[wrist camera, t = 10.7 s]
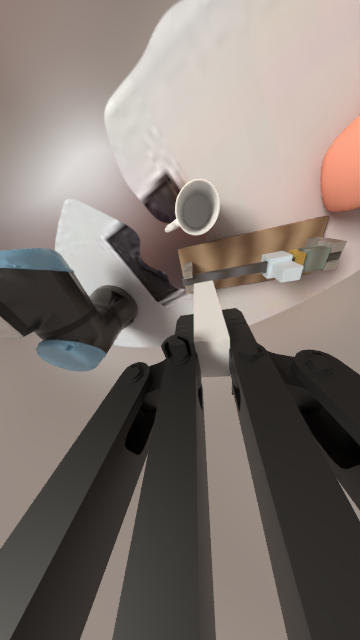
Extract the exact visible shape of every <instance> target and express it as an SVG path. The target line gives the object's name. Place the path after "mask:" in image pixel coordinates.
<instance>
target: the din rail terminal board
mask: <svg viewBox="0 0 360 640" xmlns="http://www.w3.org/2000/svg"><path fill="white" fill-rule="evenodd" d="M328 218H329V216H323V217H318V218H314V219H309V220H305V221H301V222H296V223H292V224H287V225H283V226H278V227H274V228H269V229H265V230H261V231H256V232H252V233H247V234H243V235H238V236H234V237H230V238H225V239H221V240H216V241H212V242H207V243H203V244H199V245H194V246H190V247H185V248H181V249H178V253H179V258H180V263H181V268H182V273H183V277H182V280H183V285H184V286H185V288H186V293H193V292H194V284H195V283H201V282H207V281H212V280H213V283H214V287H215V289H218V288H224V287H230V286H236V285H242V284H249V283H255V282H261V281H267V280H273V279H275V278H269V279H267V278H265V277H264V276H263V275H262V274H261V272H267V265H268V262H267V261H263V262H261V259H262V255H263V254H268V253H273V252H278V251H284V252H287V253H290V254H292V255H293V258H292V261H293V262H296V263H298V264H300V265H302V266H304V267H303V270H302V273H301V275H305V274H310V273H311V271H314V270H322V271H327V270H334V269H335V268H336V266H337V264H338V261H337V259H339V257H340V255H341V252H342V251H343V250H344V247H345V245H346V242H347V241H343V240H337V239H330V238H324V237H322V236H323V233H324V230H325V227H326V224H327V221H328Z"/></svg>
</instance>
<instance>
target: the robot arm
mask: <svg viewBox="0 0 360 640" xmlns="http://www.w3.org/2000/svg"><path fill="white" fill-rule="evenodd" d="M136 316H137V305H136V303H135V301H134V299H133V298H132V297H131V296H130V295H129V294H128V293H127V292H126V291H124V290H123V289H121V288H118V287H115V286H110V285H106V286H102V287H99V288H98V289H96V290H95V291H94V292H93V293H92V294H91V296H90V298H89V296H88V295H87V293H86V292H85V290H84V289H83V287H82V285H81V284H80V282H79V281H78V279H77V277H76V276H75V274H74V271H73V270H72V269H71V268H70V267H69V266H68V264H67V263H66V261H65V260H64V259H63V257H62V256H61V255H60V254H59V253H58V252H56V251H54V250H52V249H47V248H32V249H17V250H6V251H0V338H3V337H11V338H22V337H24V336H26V335H28V334H30V333H32V332H35V333H36V334H37V335H38V336H39V337H40V338H41V339H42V340H43V341H42V342H40V343H39V344H38V346H37V348H36V351H37V354H38V355H39V356H40V357H41V358H42V359H43V360H45V361H47V362H48V363H50V364H52V365H54V366H57V367H60V368H63V369H67V370H71V371H89V370H92V369H94V368H96V367H97V366H98V364H99V363H100V362H101V360H102V359H103V358H104V357H105V356H106V354H107V352H108V351H109V349H110V347H111V346H112V344H113V343H114V341H115V340H116V338H117V336H118V335H119V333H120V331H121V330H123V329H124V328H126V327H127V326H129V325H130V324H131V323H132V322H133V321H134V319H135V318H136ZM175 331H176V332H175V335H172V336H170V337H169V338H167V339H166V340H165V341H164V342H163V344H162V346H161V347H162V350H163V352H164V354H165V357H166V359H165V360H164V361H162V362H160V363H158V364H155V365H152V366H149V367H148V365H147V364H146V363H143V362H137V363H134V364H132V365H130V366H129V367H127V368H126V369H125V371H124V372H123V373H122V374H121V376H120V377H119V379H118V380H117V382H116V383H115V384H114V386H113V387H112V389H111V390H110V392H109V393H108V395H107V396H106V397H105V399H104V400H103V402H102V403H101V405H100V406H99V408H98V409H97V411H96V412H95V413H94V415H93V416H92V418H91V419H90V421H89V422H88V423H87V425H86V426H85V428H84V429H83V431H82V432H81V434H80V435H79V437H78V438H77V440H76V441H75V442H74V444H73V445H72V447H71V448H70V449H69V451H68V452H67V454H66V455H65V457H64V458H63V460H62V461H61V462H60V464H59V465H58V467H57V468H56V470H55V471H54V473H53V474H52V475H51V477H50V479H49V480H48V481H47V483H46V484H45V486H44V487H43V488H42V490H41V492H40V493H39V494H38V496H37V497H36V499H35V500H34V501H33V503H32V504H31V506H30V507H29V509H28V510H27V512H26V513H25V515H24V516H23V517H22V519H21V520H20V522H19V523H18V525H17V526H16V527H15V529H14V530H13V532H12V533H11V535H10V536H9V538H8V539H7V541H6V542H5V543H4V545H3V547H2V548H1V549H0V640H80V637H81V635H82V632H83V629H84V627H85V624H86V621H87V618H88V616H89V613H90V610H91V607H92V605H93V602H94V599H95V597H96V593H97V591H98V588H99V585H100V583H101V580H102V577H103V574H104V572H105V569H106V566H107V563H108V561H109V558H110V555H111V552H112V550H113V547H114V544H115V542H116V539H117V536H118V533H119V531H120V528H121V525H122V523H123V520H124V517H125V514H126V512H127V508H128V506H129V503H130V501H131V498H132V495H133V492H134V490H135V487H136V484H137V481H138V478H139V476H140V473H141V470H142V468H143V465H144V462H145V459H146V457H147V454H148V457H147V462H146V468H145V472H144V478H143V483H142V488H141V493H140V499H139V504H138V509H137V514H136V519H135V525H134V530H133V535H132V541H131V546H130V550H129V556H128V561H127V566H126V571H125V576H124V582H123V587H122V592H121V597H120V603H119V608H118V613H117V618H116V623H115V628H114V634H113V639H112V640H216V634H215V615H214V597H213V577H212V558H211V539H210V522H209V521H210V520H209V502H208V482H207V463H206V445H205V425H204V406H203V388H202V384H201V377H218V376H230V374H231V378H232V395H234V398H235V402H236V406H237V411H238V416H239V420H240V425H241V429H242V434H243V438H244V443H245V447H246V452H247V457H248V461H249V465H250V470H251V474H252V479H253V483H254V488H255V493H256V497H257V502H258V506H259V511H260V515H261V520H262V524H263V529H264V533H265V538H266V542H267V547H268V551H269V555H270V560H271V564H272V569H273V574H274V578H275V583H276V587H277V592H278V596H279V601H280V605H281V610H282V614H283V619H284V623H285V628H286V633H287V636H288V640H360V521H359V519H358V517H357V515H356V513H355V512H354V510H353V508H352V506H351V504H350V502H349V501H348V499H347V497H346V495H345V493H344V491H343V490H342V488H341V486H340V484H341V485H342V486H343V488H344V489H345V490H346V492H347V493H348V495H349V496H350V497H351V499H352V500H353V501H354V503H355V504H356V506H357V507H358V508H359V510H360V375H359V374H358V373H356V372H355V371H353V370H352V369H351V368H349V367H348V366H347V365H345V364H344V363H342V362H341V361H340V360H338V359H336V358H335V357H333V356H331V355H329V354H327V353H324V352H321V351H316V350H302V351H300V352H298V353H297V354H296V356H295V357H291V356H285V355H279V354H275V353H271V352H268V351H267V350H266V349H265V348H264V347H263V346H261V345H259V344H258V343H257V342H256V340H255V338H254V336H253V334H252V332H251V330H250V328H249V326H248V324H247V322H246V320H245V319H244V316H243V314H242V312H241V311H239V310H238V309H236V308H233V309H225V310H221V307H220V304H219V300H218V297H217V293H216V290H215V287H214V283H213V280H212V281H207V282H201V283H195V284H194V314H191V315H184V316H180V318H179V319H178V320H177V324H176V330H175ZM148 451H149V452H148ZM336 478H337V479H336ZM338 481H339V482H340V484H339V482H338Z"/></svg>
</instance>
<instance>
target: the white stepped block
mask: <svg viewBox="0 0 360 640" xmlns="http://www.w3.org/2000/svg"><path fill="white" fill-rule="evenodd" d="M292 258H293V255H292V254H290V253H287V252H284V251H278V252H273V253H268V254H263V255H262V259H261V262H263V261H267V262H268V265H267V272H261V274H262V275H263V276H264V277H265V278H267V279H269V278H275V279H277V280H278V281H279V282H281V283H282V282H289V281H295V280H300V277H301V273H302V270H303V267H304V266H302V265H300V264H298V263H296V262H293V261H292Z"/></svg>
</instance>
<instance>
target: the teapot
mask: <svg viewBox="0 0 360 640" xmlns="http://www.w3.org/2000/svg"><path fill="white" fill-rule="evenodd" d="M321 192H322V198H323V202H324V205H325V207H326V209H327V210H329V211H331V212H343V211H348V210H353V209H357V208H360V115H359V116H358V117H357V118H356V119H355V120H354V121H353V122H352V123H351V124H350V125H349V126H348V127H347V128H346V129H345V130H344V131H343V132H342V133H341V134H340V135H339V136H338V137H337V139H336V140H335V141H334V142H333V144H332V145H331V146H330V148H329V150H328V151H327V153H326V155H325V157H324V160H323V163H322V168H321Z"/></svg>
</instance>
